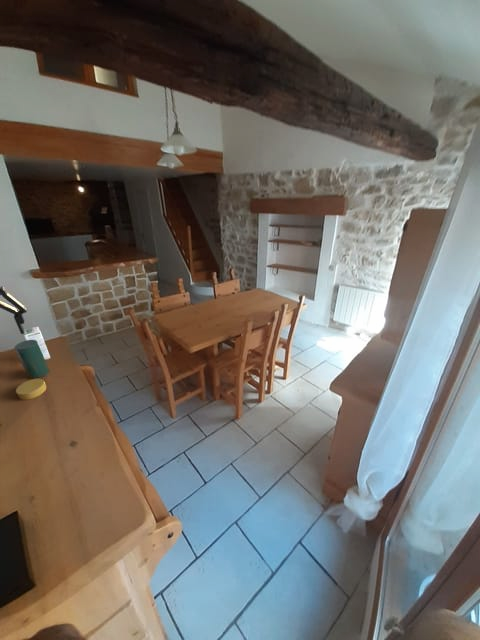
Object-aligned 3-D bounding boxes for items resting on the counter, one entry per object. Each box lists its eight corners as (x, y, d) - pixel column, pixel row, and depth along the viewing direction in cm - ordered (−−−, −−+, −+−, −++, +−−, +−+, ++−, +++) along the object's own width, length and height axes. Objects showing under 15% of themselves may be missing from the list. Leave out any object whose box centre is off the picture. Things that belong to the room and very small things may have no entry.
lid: (44, 381, 101) (41, 375, 100) (48, 391, 96) (46, 386, 94) (17, 391, 96) (14, 385, 94) (20, 403, 90) (17, 397, 89)
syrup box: (33, 357, 115) (21, 330, 108) (49, 352, 118) (38, 325, 112) (35, 363, 111) (22, 335, 104) (51, 358, 115) (40, 330, 108)
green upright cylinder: (26, 381, 101) (11, 351, 94) (30, 370, 107) (17, 341, 100) (47, 376, 103) (34, 346, 97) (50, 366, 109) (39, 338, 103)
